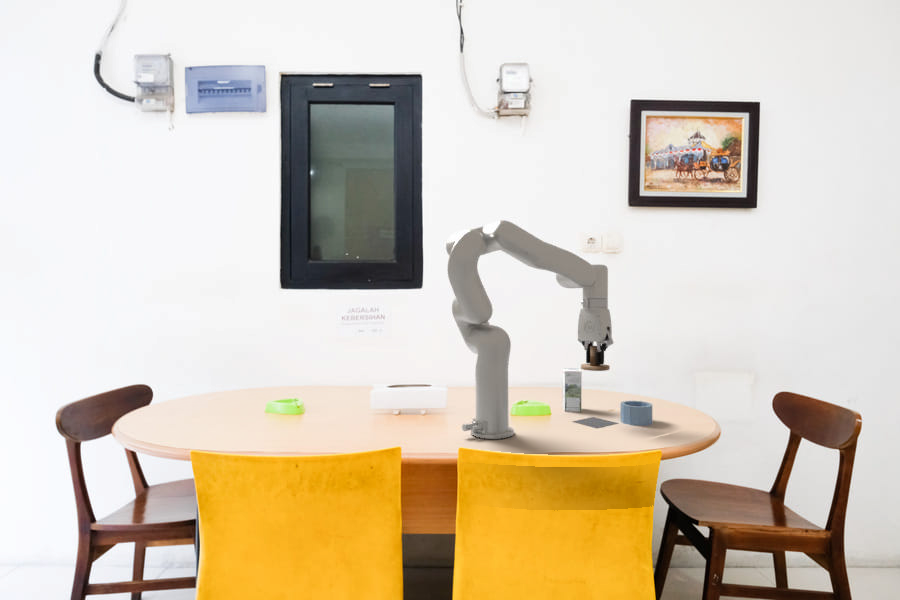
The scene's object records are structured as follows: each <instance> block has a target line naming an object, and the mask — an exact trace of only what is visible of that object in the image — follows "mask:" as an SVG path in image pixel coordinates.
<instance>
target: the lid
mask: <svg viewBox="0 0 900 600" xmlns="http://www.w3.org/2000/svg"><path fill="white" fill-rule="evenodd" d="M596 352H597V345H593V346H590V363H583V364H581V365H580V370H583V371H591V372H592V371H593V372H605V371H610V366H611V365H609V364H600V365H596Z"/></svg>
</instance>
